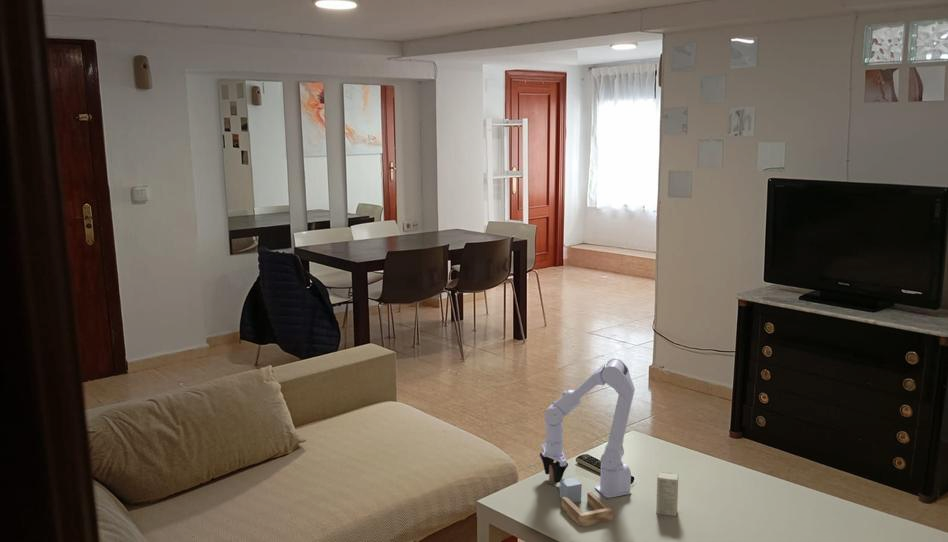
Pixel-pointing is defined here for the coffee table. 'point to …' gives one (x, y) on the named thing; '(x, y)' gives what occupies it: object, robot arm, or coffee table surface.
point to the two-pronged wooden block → (591, 517)
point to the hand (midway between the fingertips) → (553, 477)
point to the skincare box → (667, 493)
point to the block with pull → (567, 487)
